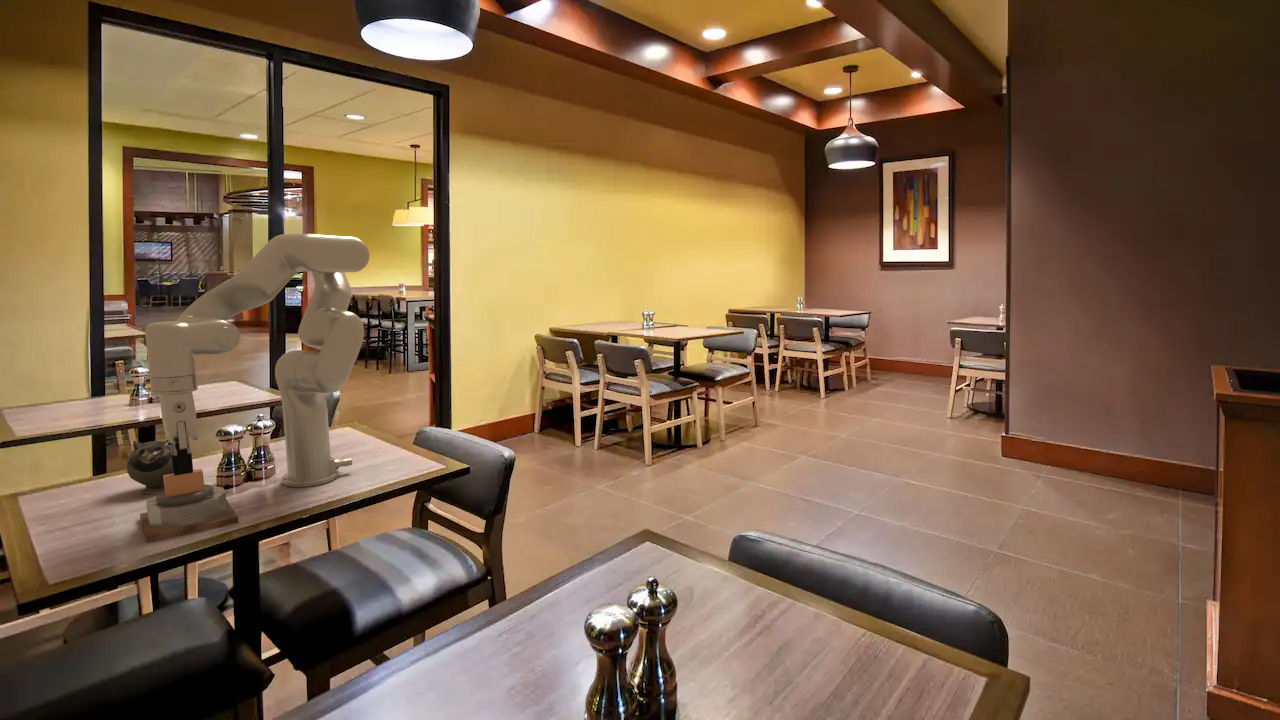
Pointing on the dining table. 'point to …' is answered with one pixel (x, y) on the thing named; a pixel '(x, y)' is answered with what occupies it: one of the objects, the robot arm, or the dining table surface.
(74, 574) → the dining table surface
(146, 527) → the mount plate
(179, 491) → the multicoloured piece
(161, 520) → the grey stone basin
